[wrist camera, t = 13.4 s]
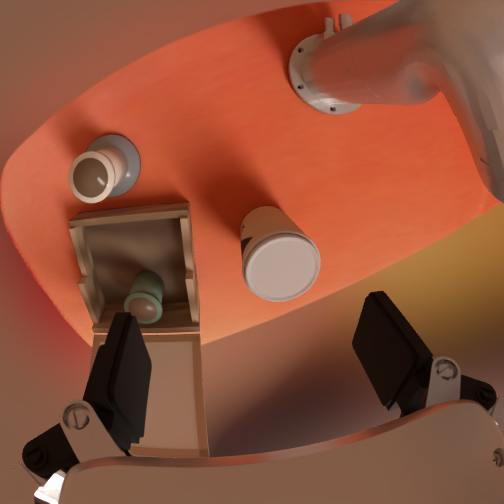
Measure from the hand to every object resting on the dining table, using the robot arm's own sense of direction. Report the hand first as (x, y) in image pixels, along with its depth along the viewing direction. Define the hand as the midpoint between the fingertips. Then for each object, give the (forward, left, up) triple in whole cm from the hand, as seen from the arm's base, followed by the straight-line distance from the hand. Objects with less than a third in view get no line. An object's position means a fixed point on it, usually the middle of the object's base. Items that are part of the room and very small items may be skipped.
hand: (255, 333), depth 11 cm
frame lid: (+26, -14, -14) cm, 32 cm away
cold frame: (+13, -14, -30) cm, 36 cm away
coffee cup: (+9, +6, -31) cm, 32 cm away
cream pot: (-2, -16, -30) cm, 34 cm away
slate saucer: (-2, -16, -30) cm, 34 cm away
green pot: (+17, -13, -29) cm, 36 cm away
